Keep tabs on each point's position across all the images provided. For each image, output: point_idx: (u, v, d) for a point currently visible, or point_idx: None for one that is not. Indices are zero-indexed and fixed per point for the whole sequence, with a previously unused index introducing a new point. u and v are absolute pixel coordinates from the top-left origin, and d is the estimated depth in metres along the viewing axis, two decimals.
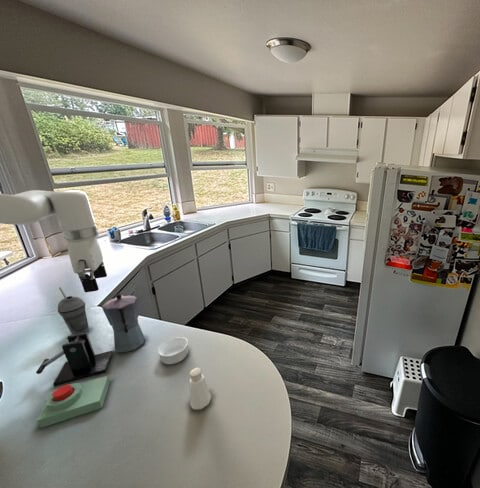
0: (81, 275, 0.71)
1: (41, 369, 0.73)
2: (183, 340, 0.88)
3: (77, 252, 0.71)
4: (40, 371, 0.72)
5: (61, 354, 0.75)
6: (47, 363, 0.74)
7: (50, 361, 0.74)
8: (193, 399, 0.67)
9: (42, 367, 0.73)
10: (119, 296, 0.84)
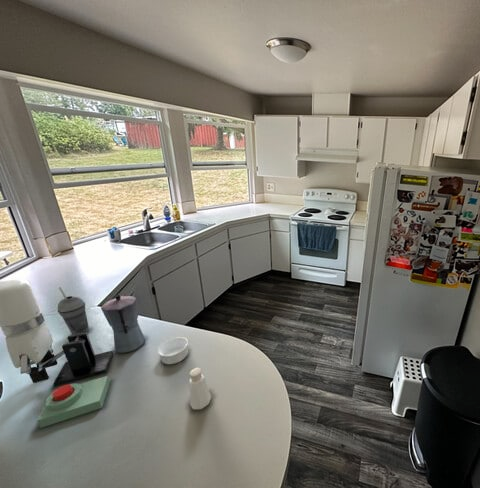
0: (27, 372, 0.68)
1: None
2: (183, 340, 0.88)
3: (17, 347, 0.66)
4: None
5: (61, 354, 0.75)
6: (47, 363, 0.74)
7: (50, 361, 0.74)
8: (193, 399, 0.67)
9: (42, 367, 0.73)
10: (118, 297, 0.84)
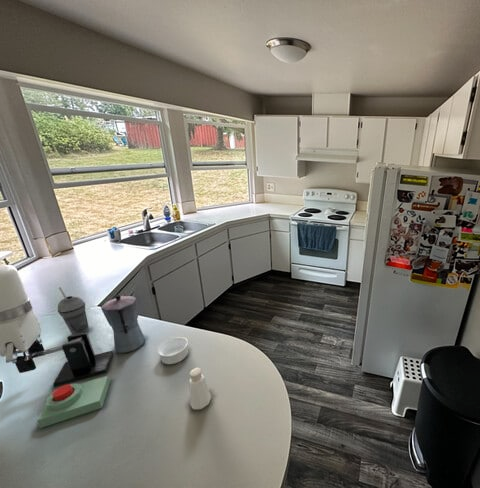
0: (12, 361, 0.65)
1: None
2: (183, 340, 0.88)
3: (3, 335, 0.64)
4: None
5: (56, 350, 0.74)
6: (38, 355, 0.72)
7: (42, 354, 0.73)
8: (193, 399, 0.67)
9: None
10: (118, 297, 0.84)
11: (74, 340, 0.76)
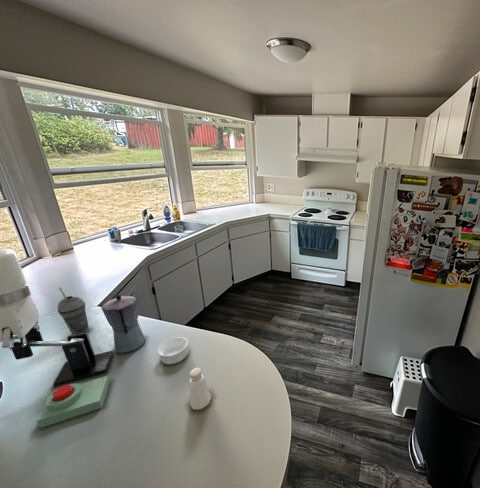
0: (9, 347, 0.64)
1: None
2: (183, 340, 0.88)
3: (0, 320, 0.63)
4: None
5: (55, 345, 0.73)
6: (36, 344, 0.71)
7: (40, 344, 0.72)
8: (193, 399, 0.67)
9: None
10: (118, 297, 0.84)
11: (76, 340, 0.76)
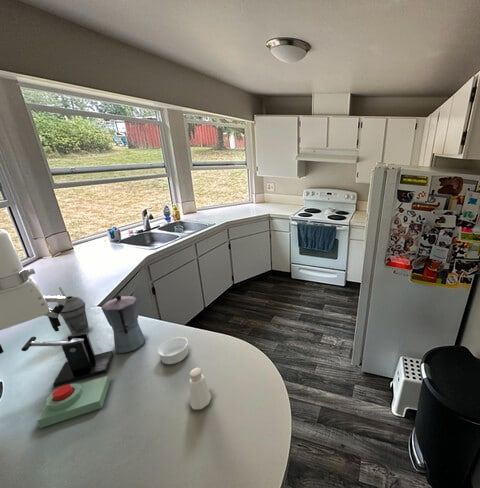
0: None
1: (28, 347, 0.70)
2: (183, 340, 0.88)
3: None
4: (26, 349, 0.69)
5: (55, 344, 0.73)
6: (36, 344, 0.71)
7: (40, 344, 0.72)
8: (193, 399, 0.67)
9: (29, 345, 0.70)
10: (119, 297, 0.84)
11: (76, 340, 0.76)
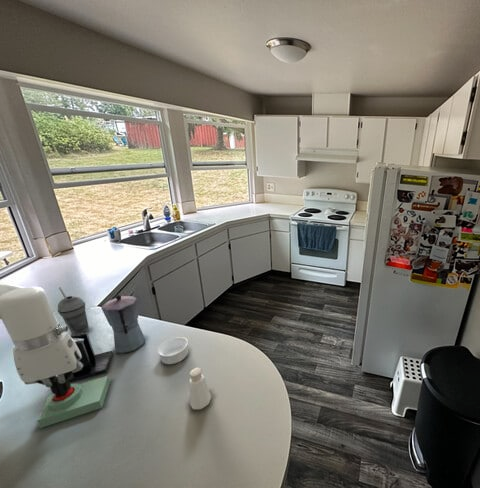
0: None
1: None
2: (183, 340, 0.88)
3: None
4: None
5: None
6: None
7: None
8: (193, 399, 0.67)
9: None
10: (118, 297, 0.84)
11: (76, 340, 0.76)
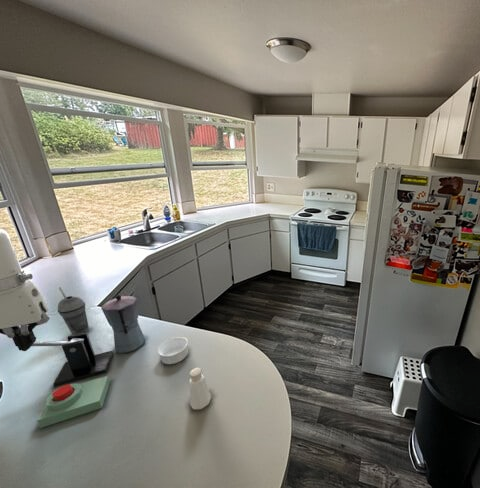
0: None
1: None
2: (183, 340, 0.88)
3: None
4: (26, 349, 0.69)
5: (55, 344, 0.73)
6: (36, 344, 0.71)
7: (40, 344, 0.72)
8: (193, 399, 0.67)
9: None
10: (118, 297, 0.84)
11: (76, 340, 0.76)
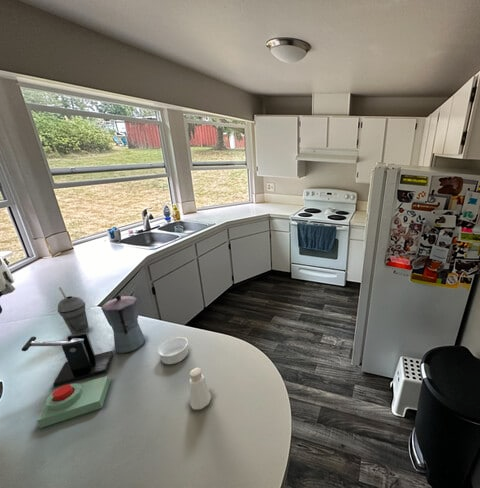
0: None
1: (28, 347, 0.70)
2: (183, 340, 0.88)
3: None
4: (26, 349, 0.69)
5: (55, 344, 0.73)
6: (36, 344, 0.71)
7: (40, 344, 0.72)
8: (193, 399, 0.67)
9: (29, 345, 0.70)
10: (118, 297, 0.84)
11: (76, 340, 0.76)
